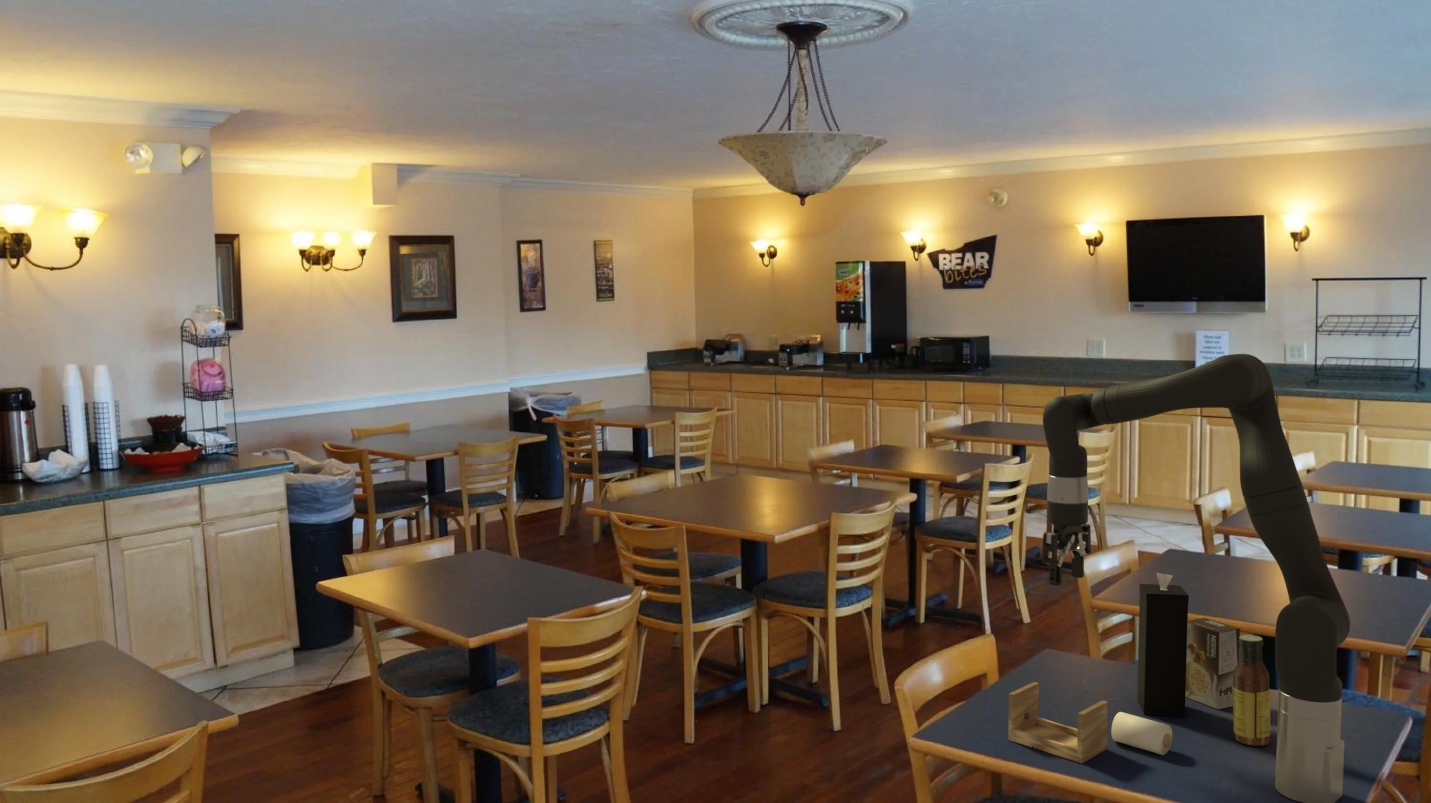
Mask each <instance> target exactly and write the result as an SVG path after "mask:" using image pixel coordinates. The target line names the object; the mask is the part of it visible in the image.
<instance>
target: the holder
mask: <svg viewBox="0 0 1431 803" xmlns="http://www.w3.org/2000/svg"><path fill="white" fill-rule="evenodd" d="M1039 686H1040V684H1039V682H1037V681H1033V682H1030V683H1028V684H1026V685H1025V686H1022V687H1020V688H1018V689H1016V690H1013V691H1012V692H1009V693H1008V738H1007V740H1008V741H1011V742H1014V743H1018V744H1021V745H1024V746H1027V747H1030V748H1032V747H1034V748H1033V749H1036V748H1037V749H1036V750H1039V751H1043V752H1045V753H1048V754H1051V755H1055V756H1058V757H1061V758H1064V759H1067V760H1070V761H1074V762H1077V763H1080V764H1084V763H1086V762H1088V761H1089V760H1090V759H1092V758H1094V757H1096V756H1097V755H1098V754H1101V753H1102V752H1104V751H1106V750H1107V742H1108V741H1107V738H1108V703H1109V702H1108V701H1106V700H1101V701H1100V700H1099V701H1098V702H1097V703H1094V704H1093V705H1090V706H1089V707H1087V708H1085V709H1083V710H1080V711H1079V712H1078V713H1077V728H1076V727H1073V726H1069V725H1065V724H1063V723H1059V722H1055V721H1052V720H1049V719H1046V718H1043V717H1039V705H1040V704H1039V698H1040V697H1039V695H1040V691H1039V690H1040V687H1039Z"/></svg>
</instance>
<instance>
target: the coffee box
mask: <svg viewBox="0 0 1431 803" xmlns="http://www.w3.org/2000/svg"><path fill="white" fill-rule="evenodd" d="M1240 636H1241V628H1240V627H1237V626H1233V625H1230V624H1226V623H1224V622H1220V621H1217V620H1214V619H1210V618H1207V617H1201V618H1194V619H1191V620H1188V625H1187V660H1186V694H1185V698H1187V699H1190V700H1193V701H1195V702H1198V703H1201V704H1203V705H1206V706H1208V707H1211V708H1213V709H1215V710H1222V709H1226V708H1230V707H1231V708H1232V707H1233V675H1234V669H1235V667H1236V666H1237V664H1238V662H1239V660H1240V658H1239V657H1240V645H1239V637H1240Z"/></svg>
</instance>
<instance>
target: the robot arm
mask: <svg viewBox="0 0 1431 803" xmlns="http://www.w3.org/2000/svg"><path fill="white" fill-rule="evenodd" d="M1204 408H1205V409H1206V408H1208V409H1210V408H1212V409H1217V408H1218V409H1221V408H1222V409H1228V410H1229V411H1228V412H1229V413H1230V416H1231V418H1232V421H1233V424H1234V427H1235V429H1236V433H1237V437H1238V441H1239V482H1240V483H1239V484H1240V489H1241V493H1242V497H1243V500H1244V504H1245V506H1246V510H1247V513H1248V516H1249V519H1250V522H1251V524H1252V527H1253V528H1254V530H1255V532H1256V534H1257V536H1258V537H1259V538H1260V540H1261V542H1262V543H1263V544H1264V547H1266V548H1267V550H1268V551H1269V553H1270V554H1271V556H1272V557H1273V559H1274V560H1275V562H1276V563H1277V565H1278V567H1279V570H1280V572H1281V574H1282V576H1283V580H1284V584H1285V587H1286V590H1287V594H1288V599H1289V603H1288V604H1287V605H1285V606H1284V607H1282V608H1281V610H1280V611H1279V613H1278V615H1277V618H1276V623H1275V632H1274V637H1275V638H1274V640H1275V641H1274V643H1275V644H1274V648H1275V650H1274V653H1275V654H1274V656H1275V658H1274V659H1275V660H1274V663H1275V672H1276V676H1277V678H1278V699H1277V700H1278V701H1277V702H1278V704H1277V724H1276V725H1277V728H1276V729H1277V730H1276V734H1277V735H1276V757H1275V774H1274V778H1275V786H1274V787H1275V790H1276V791H1277V792H1278V793H1279V794H1281V795H1282V796H1284V797H1286V798H1288V799H1290V800H1294V801H1297V802H1301V803H1336V802H1337V801H1338V800H1339V799H1340V798H1341V797H1343V785H1344V784H1343V782H1344V763H1345V762H1344V760H1345V741H1344V739H1342V738H1341V733H1342V732H1341V729H1342V728H1341V726H1342V703H1343V682H1342V680H1341V678H1340V677H1338V675H1337V654H1338V653H1337V649H1338V646H1340V645H1342V643H1344V642H1345V641H1346V639H1347V638H1348V637H1349V634H1350V631H1351V620H1350V615H1349V612H1348V609H1347V607H1346V605H1345V603H1344V600H1343V598H1342V596H1341V593H1340V591H1339V590H1338V588H1337V585H1336V582H1335V580H1334V578H1333V576H1332V573H1331V572H1330V569H1329V567H1328V564H1327V561H1326V559H1325V556H1324V552H1323V549H1322V544H1321V541H1320V537H1319V534H1318V531H1317V529H1316V524H1315V522H1314V519H1313V515H1312V512H1311V507H1310V505H1309V501H1308V498H1307V495H1306V492H1305V489H1304V485H1303V483H1302V480H1301V478H1300V477H1301V476H1300V475H1299V472H1298V469H1297V467H1296V464H1295V463H1296V462H1295V460H1294V458H1293V454H1292V453H1291V449H1290V446H1289V442H1288V440H1287V438H1286V436H1285V433H1284V429H1283V426H1282V423H1281V422H1282V421H1281V419H1280V415H1279V410H1278V405H1277V400H1276V395H1275V390H1274V384H1273V380H1272V376H1271V374H1270V370H1269V369H1268V367H1267V365H1266V364H1265V363H1264V362H1263V361H1262V360H1260V359H1259V358H1258V357H1256V356H1254V355H1252V354H1249V353H1233V354H1226V355H1222V356H1219V357H1217V358H1215V359H1213V360H1211V361H1208V362H1205V363H1203V364H1200V365H1198V366H1196V367H1193V368H1190V369H1188V370H1184V371H1182V372H1178V373H1175V374H1171V375H1167V376H1162V377H1156V378H1150V379H1149V378H1148V379H1142V380H1136V381H1131V382H1124V383H1121V384H1120V383H1119V384H1116V385H1112V386H1111V385H1110V386H1106V387H1103V388H1100V389H1098V390H1095V391H1089V392H1084V393H1083V392H1082V393H1077V394H1076V393H1075V394H1070V395H1069V394H1068V395H1060V396H1055V397H1053V398H1051V399H1050V400H1049V401H1048V402H1046V404H1045V407H1044V409H1043V414H1042V427H1043V432H1044V437H1045V438H1044V439H1045V441H1046V445H1047V450H1048V452H1049V459H1048V481H1047V493H1046V494H1047V498H1046V500H1047V501H1046V502H1047V505H1046V506H1047V507H1046V508H1047V509H1046V511H1047V512H1046V519H1047V520H1046V521H1047V522H1048V523H1049V524H1052V526H1053V529H1052V532H1047V531H1044V532H1043V534H1042V535H1043V536H1042V553H1041V554H1042V557H1041V562H1042V563H1043V564H1046V565H1048V568H1049V569H1048V570H1049V572H1048V574H1049V575H1048V579H1049V580H1048V583H1049V584H1050V586H1056V587H1059V586H1062V580H1063V579H1062V576H1063V575H1062V574H1063V573H1062V572H1063V571H1062V569H1063V568H1062V564H1063V563H1064V562H1063V561H1064V560H1065V558H1067V557H1068V555H1069V553H1070V555H1071V557H1072V558H1071V577H1073V578H1076V579H1081V578H1084V576H1085V575H1084V574H1085V571H1084V570H1085V559H1086V558H1087V555H1090V554H1091V552H1092V547H1091V546H1092V542H1091V541H1092V540H1091V539H1092V537H1091V534H1092V532H1091V524H1088V522H1089V482H1088V452H1087V449H1086V447H1085V446H1083V445H1080V444H1079V443H1080V442H1079V437H1078V436H1079V435H1078V431H1082V430H1083V431H1084V430H1089V429H1092V428H1097V427H1100V426H1104V425H1116V424H1121V423H1127V422H1132V421H1137V420H1143V419H1146V418H1147V419H1148V418H1150V417H1155V416H1158V415H1162V414H1165V413H1169V412H1173V411H1174V412H1175V411H1178V410H1179V411H1181V410H1189V409H1204Z"/></svg>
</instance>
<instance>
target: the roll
mask: <svg viewBox="0 0 1431 803" xmlns="http://www.w3.org/2000/svg"><path fill="white" fill-rule="evenodd" d="M1110 729H1111V734H1110V735H1111V738H1112V740H1113V741H1114V742H1117V743H1120V744H1123V745H1127V746H1131V747H1134V748H1138V749H1141V750H1144V751H1147V752H1151V753H1154V754H1157V755H1161V756H1164V755H1166V754H1168V752H1169V750H1170V748H1171V745H1172V742H1173V730H1172V727H1171V725H1169V724H1168V723H1167V724H1166V723H1163V722H1159V721H1156V720H1151V719H1149V718H1144V717H1141V716H1137V715H1134V714H1130V713H1126V712H1123V711H1119V712H1117V713H1116V714H1115V716H1114V718H1113V720H1112V722H1111V728H1110Z"/></svg>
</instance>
